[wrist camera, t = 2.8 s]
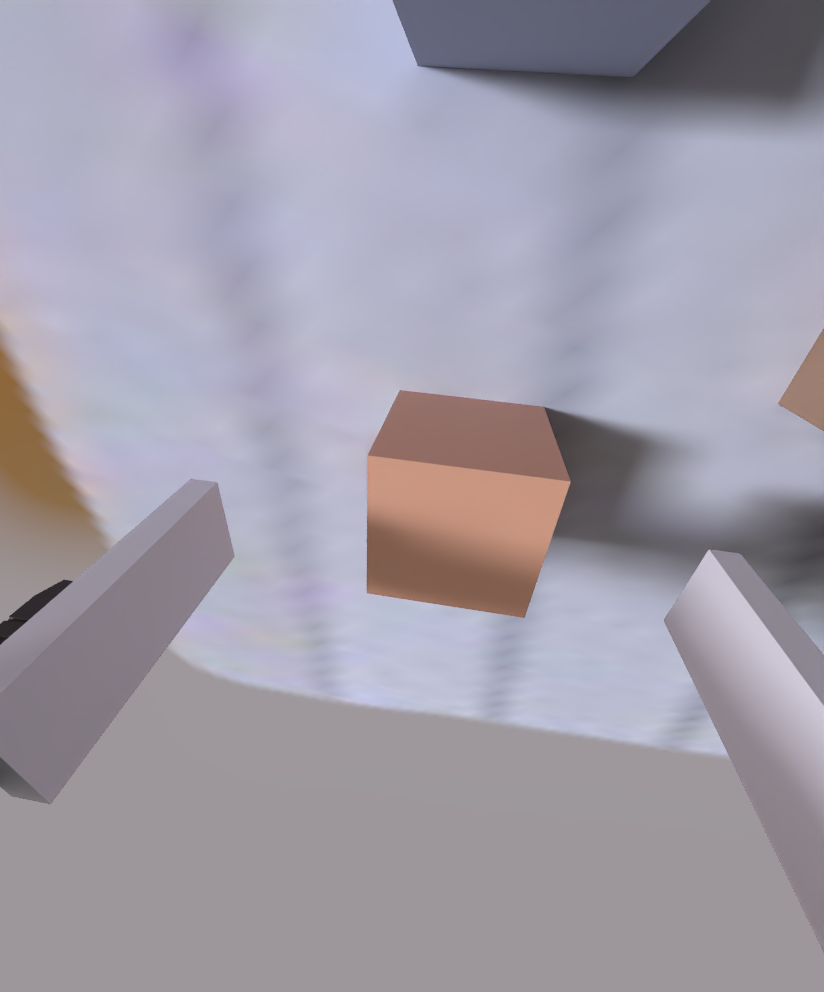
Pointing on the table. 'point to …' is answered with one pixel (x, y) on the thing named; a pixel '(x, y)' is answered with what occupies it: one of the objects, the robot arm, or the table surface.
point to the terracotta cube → (462, 502)
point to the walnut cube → (808, 387)
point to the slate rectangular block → (543, 33)
